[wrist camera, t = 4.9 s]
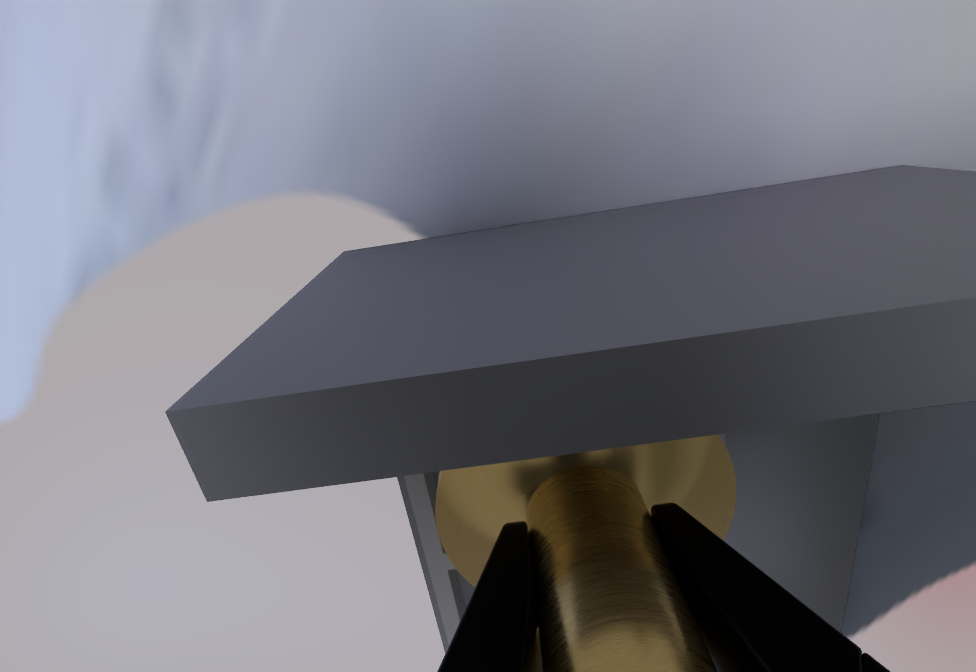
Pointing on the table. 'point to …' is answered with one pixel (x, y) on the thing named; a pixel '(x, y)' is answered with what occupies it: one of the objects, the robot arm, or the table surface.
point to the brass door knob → (596, 546)
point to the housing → (619, 358)
